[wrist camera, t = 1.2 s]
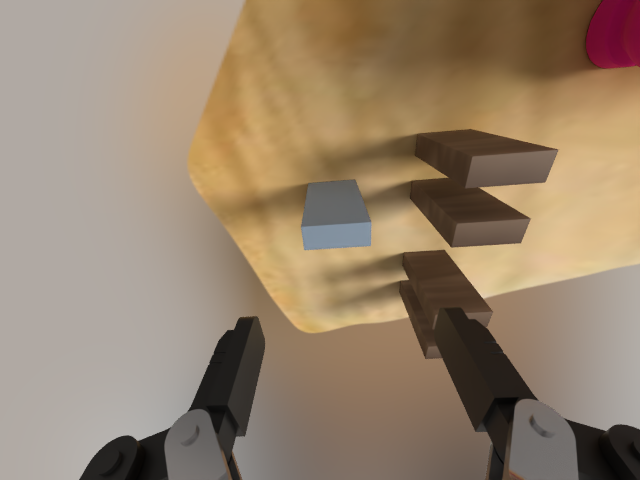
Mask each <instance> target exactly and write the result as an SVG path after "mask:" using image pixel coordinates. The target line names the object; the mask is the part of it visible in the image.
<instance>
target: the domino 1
mask: <svg viewBox="0 0 640 480" xmlns="http://www.w3.org/2000/svg"><path fill="white" fill-rule="evenodd" d="M301 230H302V237H303V244H304V250H314V249H330V248H346V247H362V246H371V220H370V217H369V214H368V212H367V209H366V206H365V204H364V201H363V199H362V196H361V193H360V191H359V188H358V185H357V183H356V180H343V181H330V182H317V183H308V189H307V195H306V201H305V207H304V213H303V219H302V225H301Z"/></svg>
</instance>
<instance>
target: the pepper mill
mask: <svg viewBox="0 0 640 480" xmlns="http://www.w3.org/2000/svg"><path fill="white" fill-rule="evenodd" d="M586 50H587V53H588V56H589V59H590V60H591V61H592V62H593V63H594V64H595V65H597V66H599V67H602V68H620V67H630V66H636V65H637V66H639V67H640V0H603V1H602V3H601V4H600V5H599V7H598V8H597V10H596V12H595V14H594V16H593V18H592V20H591V22H590V26H589V29H588V33H587V37H586Z"/></svg>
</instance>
